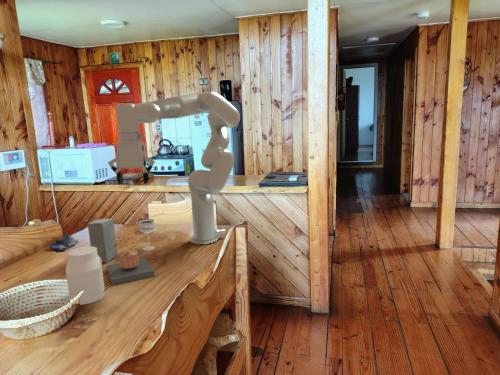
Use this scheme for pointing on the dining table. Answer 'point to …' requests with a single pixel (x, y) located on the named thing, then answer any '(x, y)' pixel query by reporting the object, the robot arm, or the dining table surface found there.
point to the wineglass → (147, 230)
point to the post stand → (129, 272)
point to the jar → (85, 274)
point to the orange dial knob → (128, 259)
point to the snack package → (63, 243)
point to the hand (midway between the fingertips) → (133, 183)
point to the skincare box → (103, 238)
